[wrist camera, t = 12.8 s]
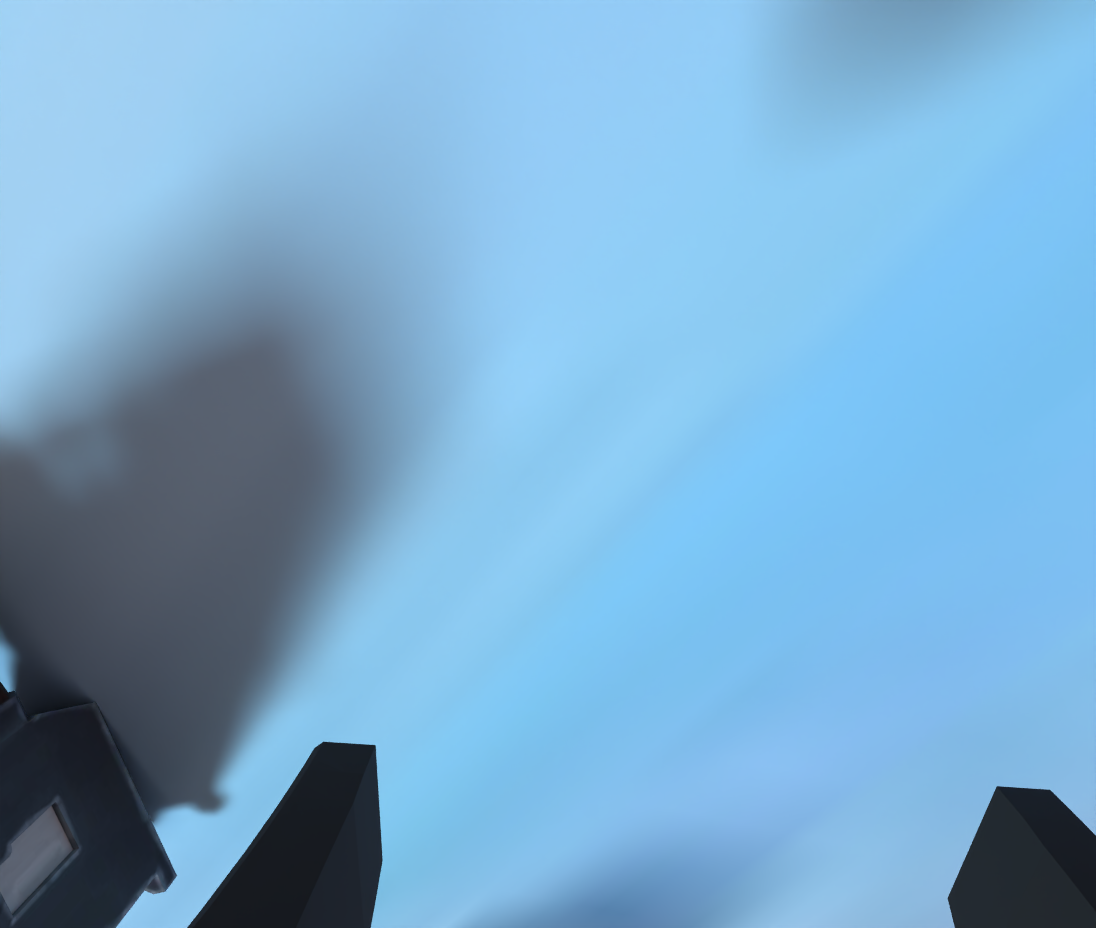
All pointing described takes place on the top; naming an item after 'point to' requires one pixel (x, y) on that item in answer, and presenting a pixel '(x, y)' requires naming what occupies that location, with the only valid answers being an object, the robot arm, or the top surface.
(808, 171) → the top surface
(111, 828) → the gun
